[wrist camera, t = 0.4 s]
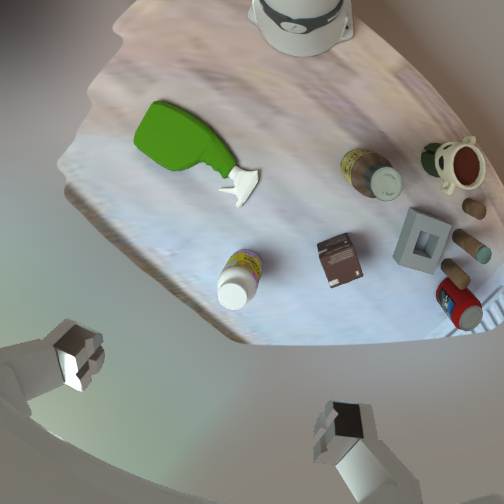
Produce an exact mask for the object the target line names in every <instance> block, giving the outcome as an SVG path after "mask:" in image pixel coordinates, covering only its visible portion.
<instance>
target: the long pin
mask: <svg viewBox="0 0 504 504" xmlns="http://www.w3.org/2000/svg"><path fill="white" fill-rule="evenodd" d="M452 240H453V241H454V242H455V243H456V244H457V245H459V246H460V247H461V248H462V249H464V250H465V251H466V252H468V253H469V254H470V255H471V256H473V257H474V258H475V259H476V260H478V261H479V262H480V263H481V264H486V263H487V262H489V260H490V258H491V254H492V253H491V250H490V249H489V248H488V247H487V246H485V245H484V244H482V243H481V242H479V241H478V240H476V239H475V238H473V237H472V236H470V235H469V234H467V233H466V232H464V231H463V230H461V229H456V230H455V231H454V232H453V235H452Z"/></svg>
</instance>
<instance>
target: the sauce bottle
mask: <svg viewBox="0 0 504 504" xmlns="http://www.w3.org/2000/svg"><path fill="white" fill-rule="evenodd" d="M341 170H342V173H343V176H344V177H345V179H346V180H347V181H348V182H349V183H350V184H351V185H352V186H353V187H354V188H355V189H356V190H357V191H358V192H360V193H361V194H363V195H364V196H367V197H370V198H378V199H380V200H382V201H392V200H394V199H396V198H397V197H398V196H399V195H400V193H401V191H402V188H403V181H402V177H401V175H400V173H399V172H398V171H397V170H396V169H394V168H393V167H392V166H391V164H390V162H389V161H388V160H387V159H386V158H384V157H382V156H381V155H379V154H377V153H374V152H370V151H366V150H361V149H356V150H352V151H350V152H349V153H347V154H346V155H345V156H344V158H343V160H342V163H341Z"/></svg>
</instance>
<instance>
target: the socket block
mask: <svg viewBox="0 0 504 504" xmlns="http://www.w3.org/2000/svg"><path fill="white" fill-rule="evenodd" d="M451 227H452V225H451V224H449V223H447V222H446V221H444V220H442V219H440V218H437V217H434V216H432V215H429V214H426V213H423V212H421V211H418V210H415V209H412V208H409V211H408V214H407V217H406V220H405V223H404V226H403V229H402V232H401V235H400V238H399V241H398V243H397V246H396V249H395V252H394V254H393V258H394V259H395V261H396V262H397V263H398V265H401V266H404V267H408V268H411V269H415V270H418V271H422V272H425V273H429V274H432V275H433V274H434V271H435V269H436V266H437V264H438V262H439V259H440V256H441V254H442V251H443V249H444V246H445V243H446V241H447V238H448V235H449V232H450V229H451ZM420 231H424V232H427V233H430V235H429V238H428V241H427V244H426V246H425V249H424V251H421V250H417V249H414V247H415V245H416V242H417V239H418V236H419V233H420Z"/></svg>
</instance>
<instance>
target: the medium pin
mask: <svg viewBox="0 0 504 504" xmlns="http://www.w3.org/2000/svg"><path fill="white" fill-rule="evenodd" d="M441 270H442V271H443V272H444V273H445V274H446V275H447V276H448V277H449V278H450V279H451V280H452V282H453V283H454V284H455V285H456V286H457V287H458V288H459V289H461V290H462V289H465V288H466V287H467V286H468V285H469V283H470V277H469V276H468V275H467V274H466V273H465V272H464V271H463V270H462V269H461V268H460V267H459V266H457V265H456V264H455V263H454V262H453V261H452V260H451V259H445V260H444V261H443V262H442V264H441Z"/></svg>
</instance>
